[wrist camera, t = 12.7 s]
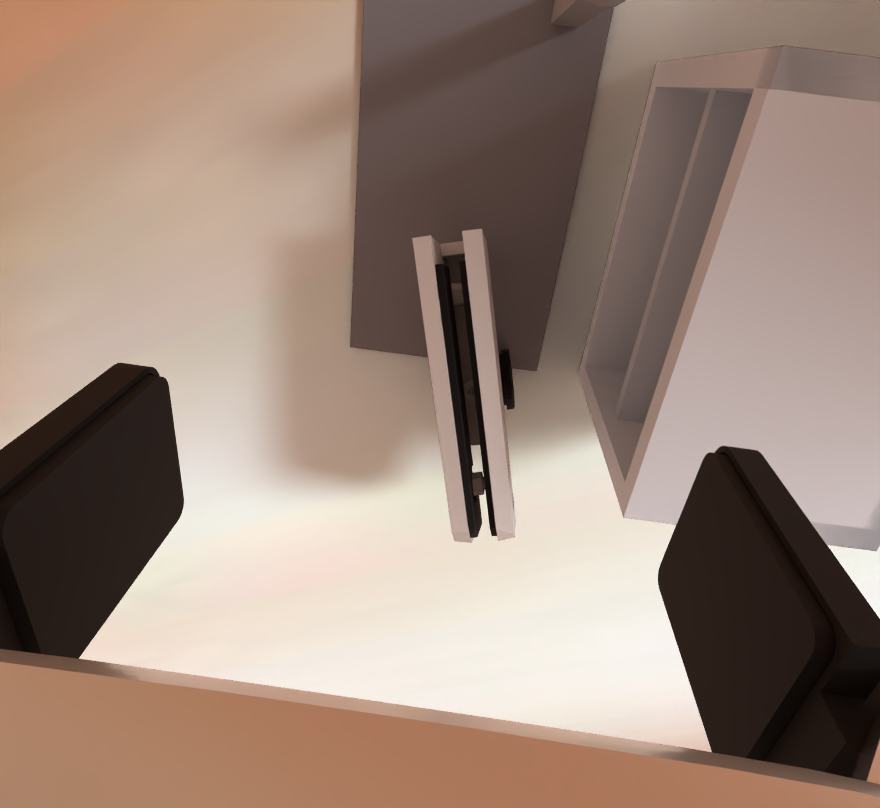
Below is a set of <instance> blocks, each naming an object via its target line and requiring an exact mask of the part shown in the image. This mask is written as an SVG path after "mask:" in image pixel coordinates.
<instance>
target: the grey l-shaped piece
mask: <svg viewBox="0 0 880 808" xmlns="http://www.w3.org/2000/svg"><path fill="white" fill-rule="evenodd" d="M624 1H625V0H364V10H363V36H362V62H361V87H360V113H359V138H358V164H357V189H356V215H355V241H354V266H353V292H352V317H351V343H350V347H354V348H362V349H369V350H377V351H385V352H392V353H400V354H408V355H415V356H423V357H428V352H427V344H426V337H425V329H424V322H423V314H422V307H421V299H420V292H419V284H418V277H417V270H416V262H415V255H414V247H413V240H412V238H417V237H423V236H430V235H431V237H432V238H434V239H435V240H436V241H437V242H438V243H439V244H444V243H451V242H459V241H463V235H462V231H466V230H475V229H482V231H483V233H484V236H485V239H486V241H487V246H488V256H489V266H490V276H491V285H492V295H493V305H494V315H495V324H496V334H497V344H498V354H501V350H504V349H509V352H510V360H511V368H515V369H523V370H531V371H537V366H538V362H539V357H540V352H541V348H542V343H543V338H544V333H545V329H546V324H547V319H548V315H549V310H550V305H551V300H552V296H553V291H554V286H555V282H556V277H557V272H558V267H559V263H560V258H561V253H562V249H563V244H564V239H565V234H566V230H567V225H568V220H569V216H570V211H571V206H572V201H573V197H574V192H575V187H576V183H577V178H578V173H579V168H580V164H581V159H582V154H583V150H584V145H585V140H586V135H587V131H588V126H589V121H590V117H591V112H592V107H593V103H594V98H595V93H596V88H597V84H598V79H599V74H600V70H601V65H602V60H603V55H604V51H605V46H606V41H607V37H608V32H609V27H610V22H611V18H612V13H613V8H614V7H615V6H617V5H619V4H620V3H622V2H624Z"/></svg>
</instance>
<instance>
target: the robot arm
mask: <svg viewBox="0 0 880 808" xmlns="http://www.w3.org/2000/svg"><path fill="white" fill-rule="evenodd" d="M183 505H184V497H183V489H182V482H181V474H180V467H179V459H178V452H177V444H176V437H175V429H174V422H173V415H172V407H171V400H170V392H169V386H168V382H167V380H166V379H165V378H164V377H160V376H159V373H158V372H157V370H156V369H155V368H153V367H147V366H139V365H132V364H125V363H117V364H115V365H113V366H112V367H111V368H109V369H108V370H107V371H105V372H104V373H103V374H101V375H100V376H99V377H97V378H96V379H95V380H93V381H92V382H91V383H89V384H88V385H87V386H85V387H84V388H83V389H81V390H80V391H79V392H77V393H76V394H75V395H73V396H72V397H71V398H69V399H68V400H67V401H65V402H64V403H63V404H61V405H60V406H59V407H57V408H56V409H55V410H53V411H52V412H51V413H49V414H48V415H47V416H45V417H44V418H43V419H41V420H40V421H39V422H37V423H36V424H35V425H33V426H32V427H31V428H29V429H28V430H26V431H25V432H24V433H22V434H21V435H20V436H18V437H17V438H16V439H14V440H13V441H12V442H10V443H9V444H8V445H6V446H5V447H4V448H2V449H1V450H0V808H880V619H879V617H878V616H877V615H876V613H875V612H874V610H873V609H872V608H871V606H870V605H869V603H868V602H867V601H866V599H865V598H864V596H863V595H862V594H861V592H860V591H859V589H858V588H857V587H856V585H855V584H854V582H853V581H852V580H851V578H850V577H849V575H848V574H847V573H846V571H845V570H844V568H843V567H842V566H841V564H840V563H839V561H838V560H837V559H836V557H835V556H834V554H833V553H832V552H831V550H830V549H829V547H828V546H827V545H826V543H825V542H824V540H823V539H822V538H821V536H820V535H819V533H818V532H817V531H816V529H815V528H814V526H813V525H812V524H811V522H810V521H809V519H808V518H807V517H806V515H805V514H804V512H803V511H802V510H801V508H800V507H799V505H798V504H797V503H796V501H795V500H794V498H793V497H792V496H791V494H790V493H789V491H788V490H787V489H786V487H785V486H784V484H783V483H782V482H781V480H780V479H779V477H778V476H777V475H776V473H775V472H774V470H773V469H772V467H771V466H770V465H769V463H768V462H767V460H766V459H765V458H764V456H763V455H762V454H761V453H760V452H759V451H757V450H752V449H745V448H737V447H730V446H721V447H719V448H718V449H717V450H716V451H715V453H712V452H709V453H707V454H706V455H705V457H704V458H703V460H702V463H701V465H700V468H699V470H698V473H697V475H696V478H695V480H694V483H693V485H692V488H691V490H690V493H689V495H688V498H687V500H686V503H685V505H684V508H683V510H682V513H681V515H680V517H679V520H678V522H677V525H676V527H675V530H674V532H673V535H672V537H671V540H670V542H669V545H668V547H667V550H666V552H665V555H664V557H663V560H662V562H661V565H660V568H659V573H658V585H659V589H660V592H661V595H662V598H663V601H664V605H665V608H666V611H667V614H668V617H669V620H670V623H671V626H672V629H673V632H674V635H675V639H676V642H677V645H678V648H679V651H680V654H681V657H682V660H683V663H684V666H685V670H686V673H687V676H688V679H689V682H690V685H691V688H692V691H693V694H694V697H695V700H696V704H697V707H698V710H699V713H700V716H701V719H702V722H703V725H704V728H705V731H706V735H707V738H708V741H709V744H710V747H711V750H712V752H706V751H700V750H694V749H689V748H683V747H676V746H670V745H663V744H657V743H650V742H643V741H637V740H630V739H624V738H617V737H611V736H604V735H597V734H591V733H584V732H578V731H571V730H565V729H558V728H552V727H545V726H538V725H532V724H525V723H519V722H512V721H506V720H499V719H493V718H486V717H479V716H472V715H466V714H459V713H452V712H445V711H438V710H432V709H425V708H418V707H411V706H405V705H398V704H391V703H384V702H378V701H371V700H364V699H357V698H350V697H343V696H336V695H330V694H323V693H316V692H309V691H302V690H295V689H288V688H282V687H275V686H268V685H261V684H254V683H247V682H240V681H233V680H226V679H219V678H211V677H204V676H197V675H190V674H183V673H176V672H169V671H162V670H155V669H148V668H141V667H133V666H126V665H119V664H112V663H105V662H98V661H91V660H84V659H79V657H80V656H81V654H82V653H83V652H84V650H85V649H86V647H87V646H88V645H89V643H90V642H91V641H92V639H93V638H94V636H95V635H96V634H97V632H98V631H99V629H100V628H101V627H102V625H103V624H104V622H105V621H106V620H107V618H108V617H109V616H110V614H111V613H112V611H113V610H114V609H115V607H116V606H117V604H118V603H119V602H120V600H121V599H122V597H123V596H124V595H125V593H126V592H127V591H128V589H129V588H130V586H131V585H132V584H133V582H134V581H135V579H136V578H137V577H138V575H139V574H140V573H141V571H142V570H143V568H144V567H145V566H146V564H147V563H148V561H149V560H150V559H151V557H152V556H153V554H154V553H155V552H156V550H157V549H158V548H159V546H160V545H161V543H162V542H163V541H164V539H165V538H166V536H167V535H168V534H169V532H170V531H171V529H172V528H173V527H174V525H175V524H176V523H177V521H178V520H179V518H180V516H181V513H182V510H183Z"/></svg>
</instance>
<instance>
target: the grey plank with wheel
mask: <svg viewBox="0 0 880 808" xmlns="http://www.w3.org/2000/svg"><path fill="white" fill-rule="evenodd" d="M462 235H463V241H459V242H451V243H444V244H439V243H438V242H437V241H436V240H435V239H434V238H432V237H431V235H430V236H423V237H417V238H412V240H413V247H414V255H415V262H416V270H417V277H418V284H419V292H420V299H421V307H422V314H423V322H424V329H425V337H426V344H427V352H428V359H429V366H430V374H431V381H432V389H433V396H434V404H435V411H436V419H437V426H438V433H439V441H440V448H441V456H442V463H443V471H444V478H445V486H446V493H447V501H448V508H449V515H450V523H451V530H452V534H453V537H454V540H455V541H459V542H470V543H472V540H473V538H474V537H478V534H479V531H480V527H481V524H482V518H481V509H480V500H479V495H483V494H484V489H485V490H486V498H487V507H488V516H489V524H490V530H491V534H492V536H497V537H498V541H501V540H505V539H509V538H513V537H515V522H516V520H515V510H514V501H513V491H512V481H511V471H510V461H509V452H508V442H507V432H506V422H505V413H504V405H507V410H508V409H514V407H515V403H514V389H513V379H512V368H511V360H510V352H509V349H504V350H501V354H498V344H497V334H496V324H495V315H494V305H493V295H492V285H491V276H490V266H489V256H488V246H487V241H486V239H485V236H484V233H483V231H482V229H475V230H466V231H462ZM471 445H480V447H481V456H482V464H483V473H484V477H483V474H482V472H475V473H473V472H472V466H473V461H472V453H471Z"/></svg>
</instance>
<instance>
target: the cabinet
mask: <svg viewBox="0 0 880 808" xmlns="http://www.w3.org/2000/svg"><path fill="white" fill-rule="evenodd" d="M578 376H579V379H580V382H581V385H582V388H583V391H584V395H585V398H586V401H587V404H588V407H589V410H590V413H591V417H592V420H593V423H594V426H595V429H596V432H597V435H598V439H599V442H600V445H601V448H602V451H603V454H604V458H605V461H606V464H607V467H608V470H609V473H610V476H611V480H612V483H613V486H614V489H615V492H616V495H617V499H618V502H619V505H620V508H621V511H622V514H623V517H624V518H629V519H637V520H644V521H652V522H659V523H667V524H674V525H677V522H678V520H679V517H680V515H681V513H682V510H683V508H684V505H685V503H686V500H687V498H688V495H689V493H690V490H691V488H692V485H693V483H694V480H695V478H696V475H697V473H698V470H699V468H700V465H701V463H702V460H703V458H704V457H705V455H706V454H707V453H709V452H712V453H715V451H716V450H717V449H718V448H719V447H721V446H730V447H737V448H745V449H752V450H757V451H759V452H760V453H761V454H762V455H763V456H764V458H765V459H766V460H767V462H768V463H769V465H770V466H771V467H772V469H773V470H774V472H775V473H776V475H777V476H778V477H779V479H780V480H781V482H782V483H783V484H784V486H785V487H786V489H787V490H788V491H789V493H790V494H791V496H792V497H793V498H794V500H795V501H796V503H797V504H798V505H799V507H800V508H801V510H802V511H803V512H804V514H805V515H806V517H807V518H808V519H809V521H810V522H811V524H812V525H813V526H814V528H815V529H816V531H817V532H818V533H819V535H820V536H821V538H822V539H823V540H824V542H825V543H826V545H834V546H841V547H849V548H856V549H864V550H871V551H877V549H878V547H879V546H880V58H878V57H870V56H863V55H855V54H847V53H839V52H831V51H823V50H815V49H807V48H799V47H791V46H776V47H769V48H761V49H753V50H746V51H738V52H730V53H723V54H715V55H707V56H700V57H692V58H684V59H676V60H669V61H661V62H657V63H656V67H655V71H654V75H653V79H652V83H651V87H650V91H649V95H648V99H647V103H646V107H645V111H644V115H643V119H642V123H641V127H640V131H639V135H638V139H637V143H636V147H635V151H634V155H633V159H632V163H631V167H630V171H629V175H628V179H627V182H626V186H625V190H624V194H623V198H622V202H621V206H620V210H619V214H618V218H617V222H616V226H615V230H614V234H613V238H612V242H611V246H610V250H609V254H608V258H607V262H606V266H605V270H604V274H603V278H602V282H601V286H600V290H599V294H598V298H597V302H596V306H595V310H594V314H593V318H592V322H591V326H590V330H589V334H588V337H587V341H586V345H585V349H584V353H583V357H582V361H581V365H580V369H579V373H578Z"/></svg>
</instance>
